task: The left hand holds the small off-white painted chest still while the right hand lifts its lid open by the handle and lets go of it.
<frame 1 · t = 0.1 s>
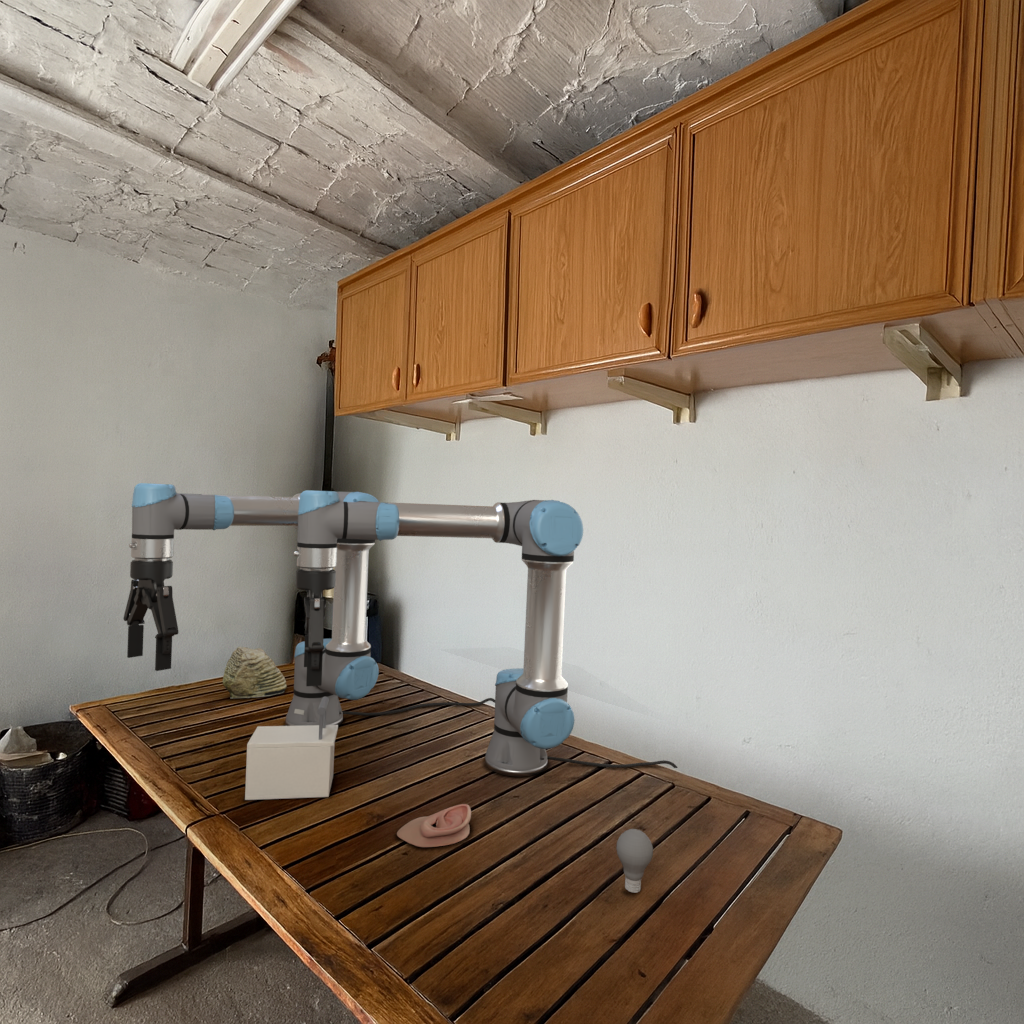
left hand: (148, 663, 129), 28 cm above the table, tool pointing down, fingers open, 13 cm apart
right hand: (312, 675, 125), 28 cm above the table, tool pointing down, fingers open, 13 cm apart
anatomical model: (434, 833, 121), on the table
chest: (291, 787, 137), on the table
lid: (295, 720, 137), point 15 cm above the table, hinge at 0.0°
fossil: (254, 694, 198), on the table
light bulb: (632, 891, 106), on the table
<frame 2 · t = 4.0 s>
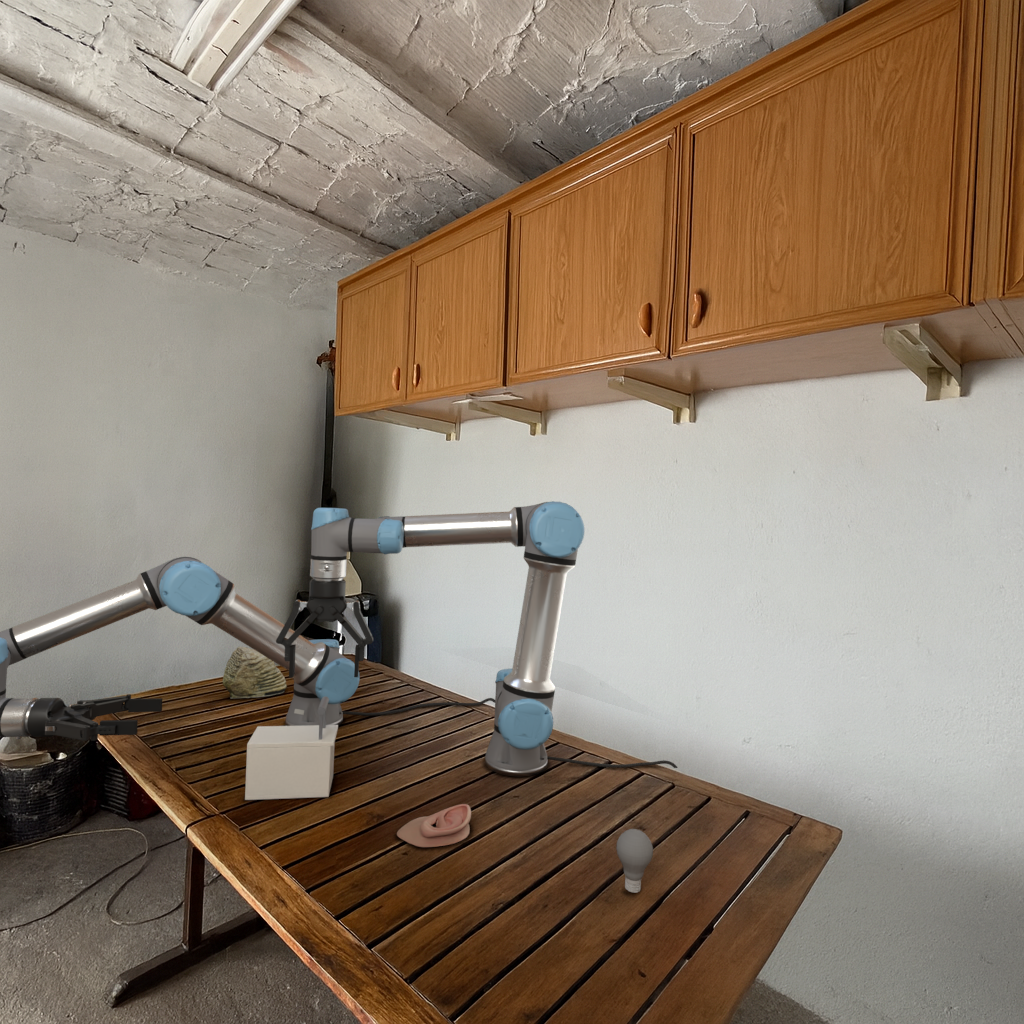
left hand: (149, 715, 132), 16 cm above the table, tool horizontal, fingers open, 13 cm apart
right hand: (324, 675, 138), 24 cm above the table, tool pointing down, fingers open, 13 cm apart
nothing on the table moved.
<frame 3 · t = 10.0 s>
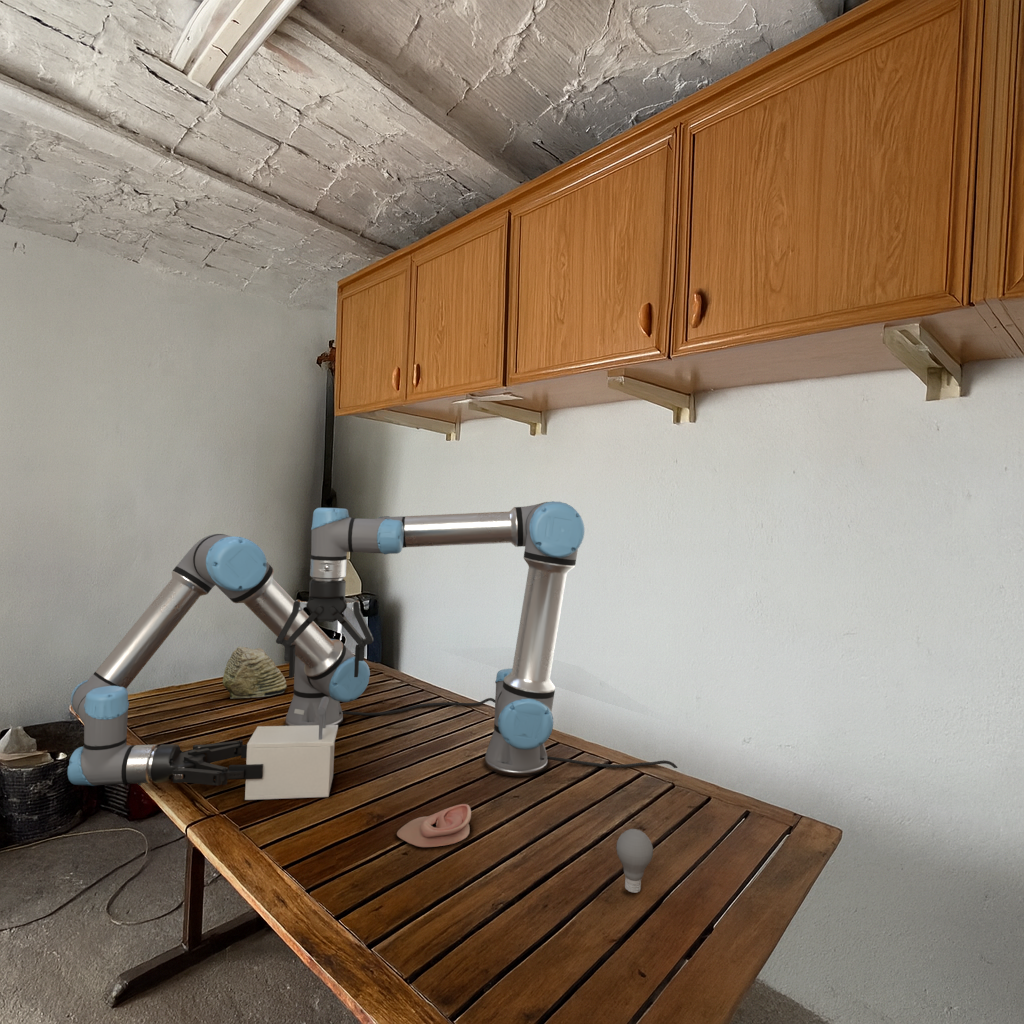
left hand: (267, 760, 136), 6 cm above the table, tool horizontal, fingers closed on chest, 10 cm apart
right hand: (324, 675, 138), 24 cm above the table, tool pointing down, fingers open, 13 cm apart
chest: (291, 787, 137), on the table, touching left hand
everything else where it was.
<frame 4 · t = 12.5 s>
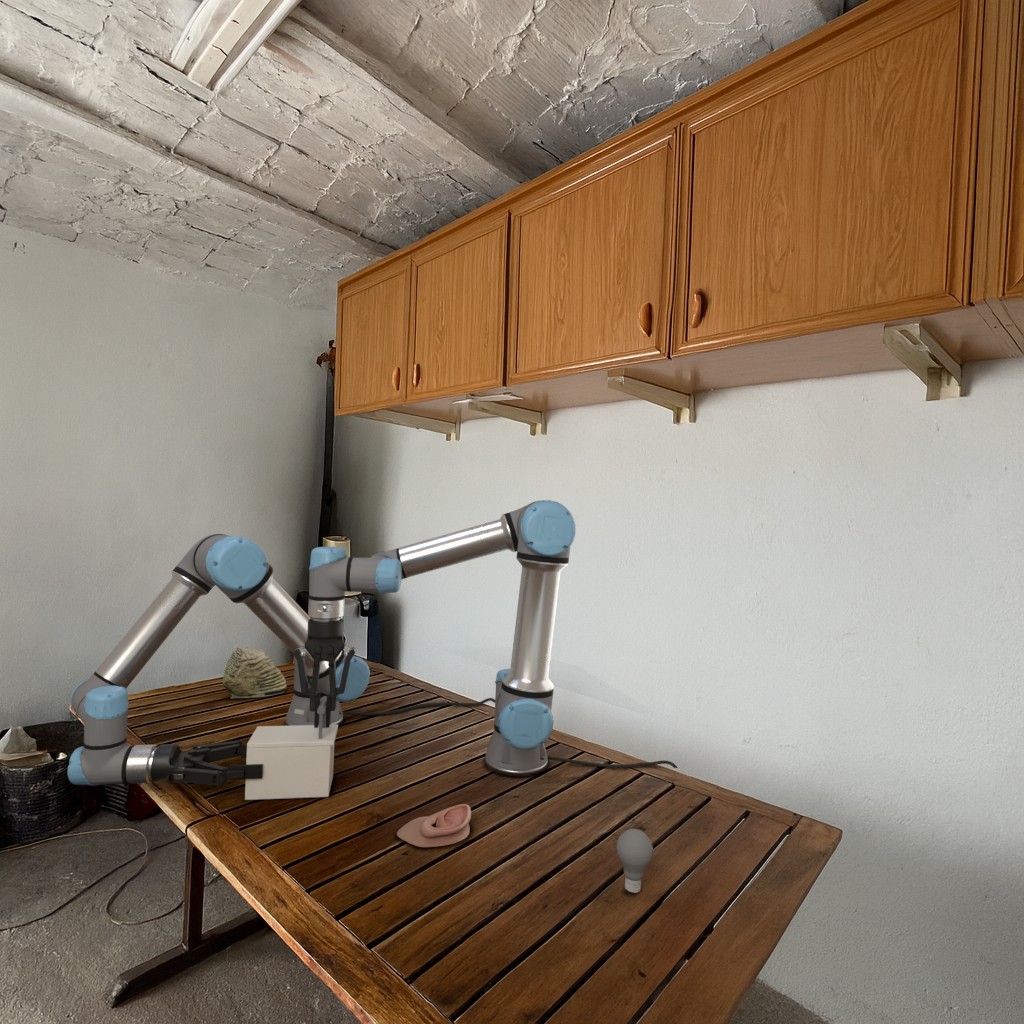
left hand: (267, 760, 136), 6 cm above the table, tool horizontal, fingers closed on chest, 10 cm apart
right hand: (322, 725, 138), 13 cm above the table, tool pointing down, fingers closed on lid, 2 cm apart
chest: (291, 787, 137), on the table, touching left hand
lid: (295, 719, 137), point 15 cm above the table, hinge at 0.2°, touching right hand
everything else where it was.
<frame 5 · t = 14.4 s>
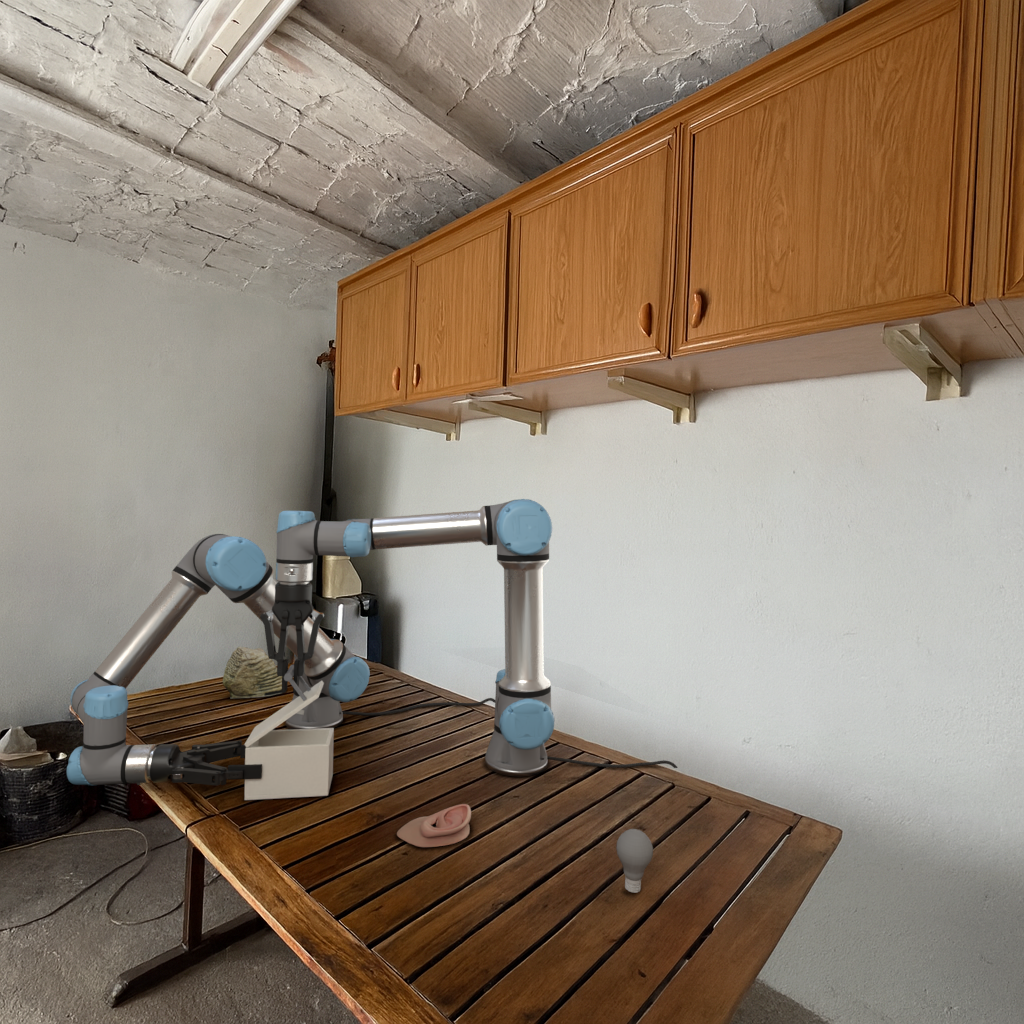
left hand: (266, 760, 136), 6 cm above the table, tool horizontal, fingers closed on chest, 10 cm apart
right hand: (290, 690, 137), 21 cm above the table, tool pointing down, fingers closed on lid, 2 cm apart
chest: (290, 787, 137), on the table, touching left hand
lid: (276, 699, 136), point 19 cm above the table, hinge at 35.6°, touching right hand
everything else where it was.
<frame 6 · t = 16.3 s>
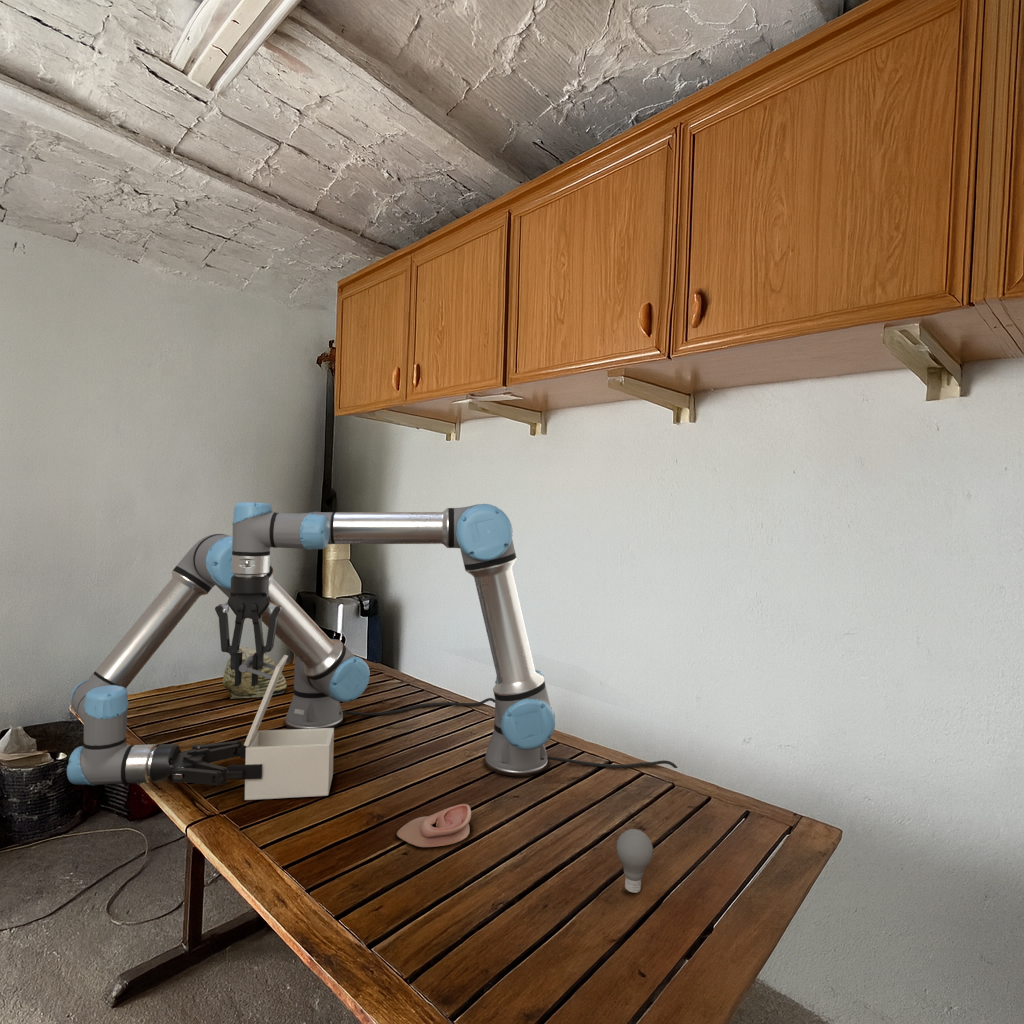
left hand: (267, 760, 136), 6 cm above the table, tool horizontal, fingers closed on chest, 10 cm apart
right hand: (246, 684, 135), 23 cm above the table, tool pointing down, fingers open, 3 cm apart
chest: (290, 787, 137), on the table, touching left hand
lid: (251, 693, 135), point 21 cm above the table, hinge at 69.5°
everything else where it was.
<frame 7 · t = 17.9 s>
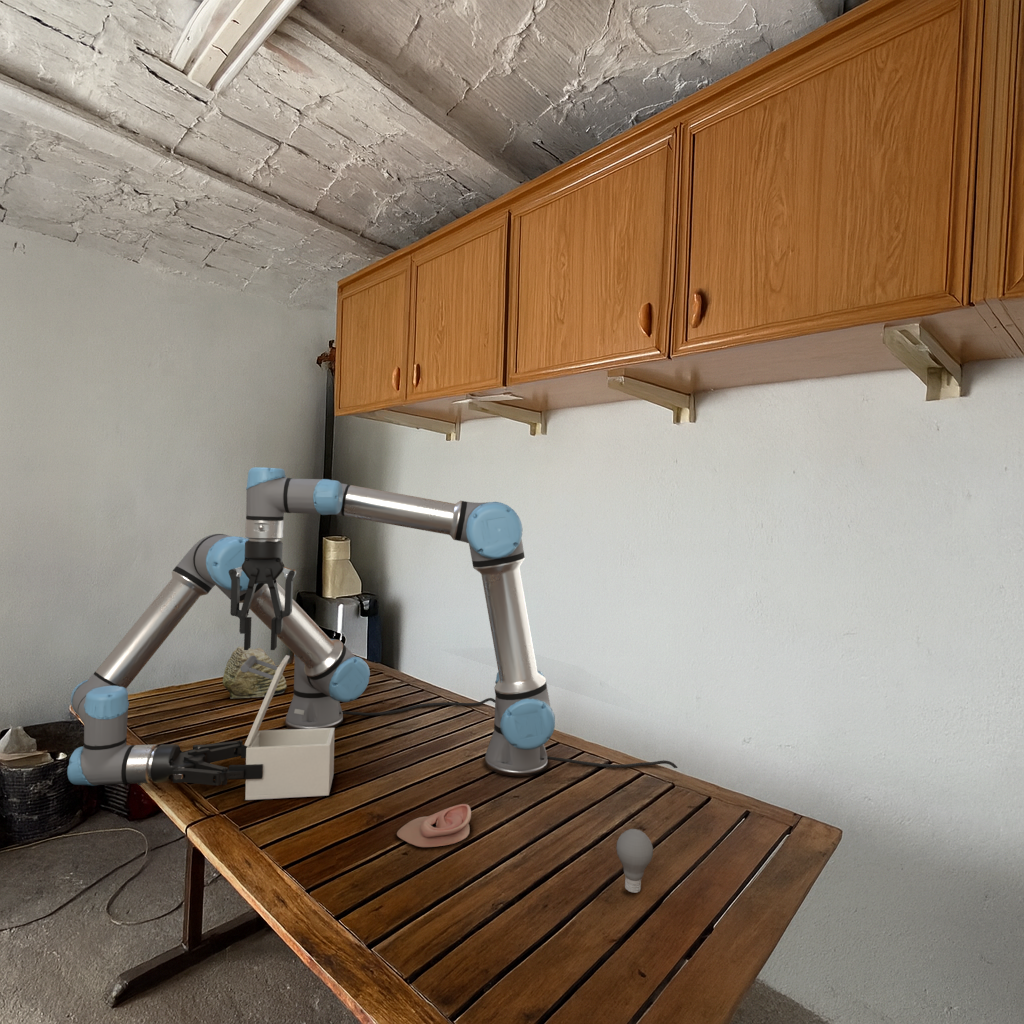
left hand: (267, 760, 136), 6 cm above the table, tool horizontal, fingers closed on chest, 10 cm apart
right hand: (260, 648, 136), 30 cm above the table, tool pointing down, fingers open, 5 cm apart
chest: (291, 786, 137), on the table, touching left hand
lid: (252, 693, 135), point 21 cm above the table, hinge at 68.5°
everything else where it was.
when the left hand's fingers open (6 cm above the table, at t = 20.4 s): chest stays where it is, on the table.
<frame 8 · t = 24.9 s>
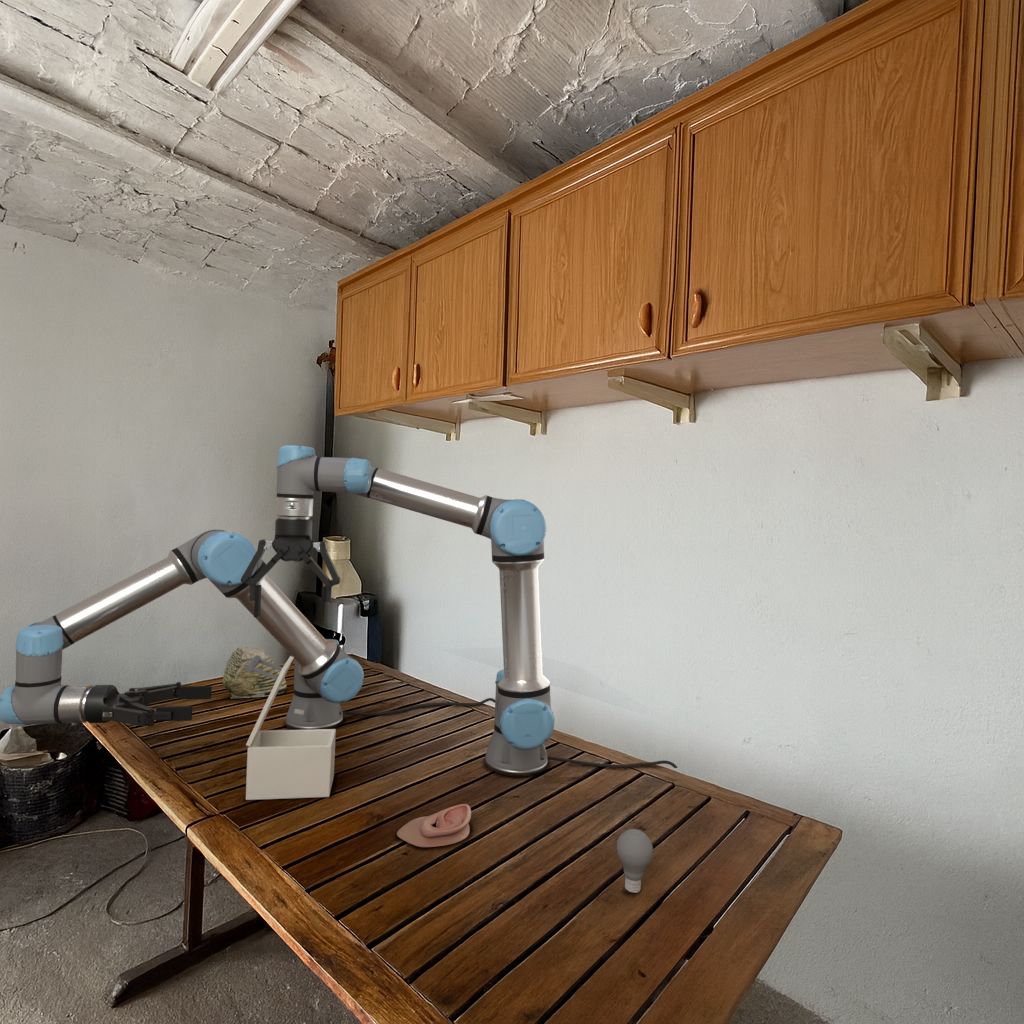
left hand: (202, 702, 134), 19 cm above the table, tool horizontal, fingers open, 13 cm apart
right hand: (290, 616, 136), 37 cm above the table, tool pointing down, fingers open, 13 cm apart
chest: (291, 787, 137), on the table
lid: (255, 693, 135), point 21 cm above the table, hinge at 67.5°
everything else where it was.
at the end: lid at +68° (first picture: +0°); the left hand is holding nothing; the right hand is holding nothing; chest tilted 0°; chest never tilted more than 2° during the clip; chest moved 0.1 cm from its start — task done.
